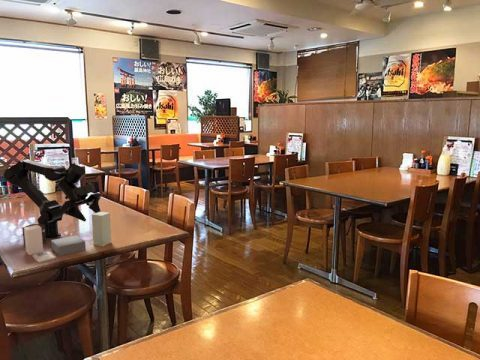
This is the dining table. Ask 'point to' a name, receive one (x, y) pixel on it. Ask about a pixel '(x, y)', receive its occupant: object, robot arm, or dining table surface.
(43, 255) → the plaque
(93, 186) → the robot arm
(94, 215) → the sage block
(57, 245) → the slate base
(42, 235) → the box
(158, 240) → the dining table surface
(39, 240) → the white block
